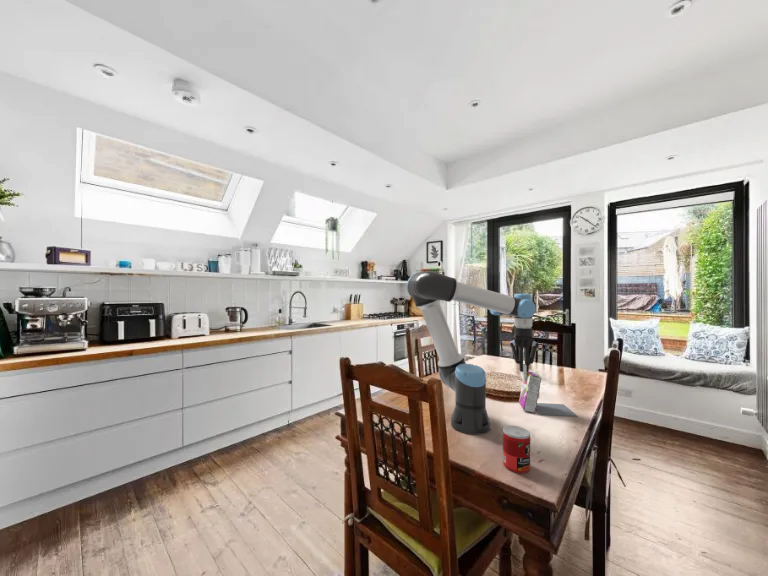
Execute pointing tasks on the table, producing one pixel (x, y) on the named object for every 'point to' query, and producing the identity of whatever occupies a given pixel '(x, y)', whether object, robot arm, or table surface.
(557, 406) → the mat
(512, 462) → the canned food
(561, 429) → the table surface
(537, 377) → the candy bar box
